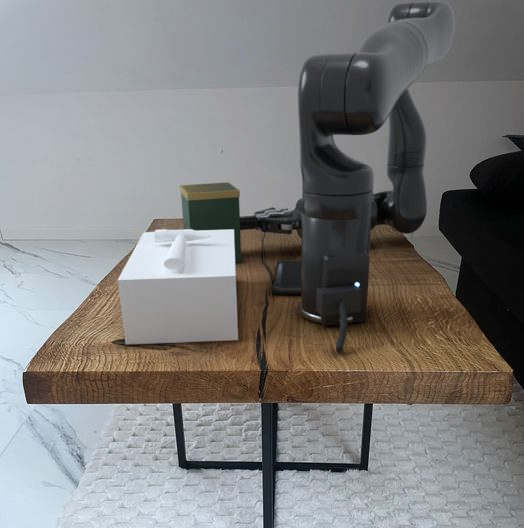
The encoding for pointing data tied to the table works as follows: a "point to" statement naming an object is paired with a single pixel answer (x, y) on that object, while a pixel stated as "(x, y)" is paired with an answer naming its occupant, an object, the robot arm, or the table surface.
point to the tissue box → (180, 288)
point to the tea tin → (212, 209)
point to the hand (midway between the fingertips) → (234, 223)
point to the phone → (287, 278)
